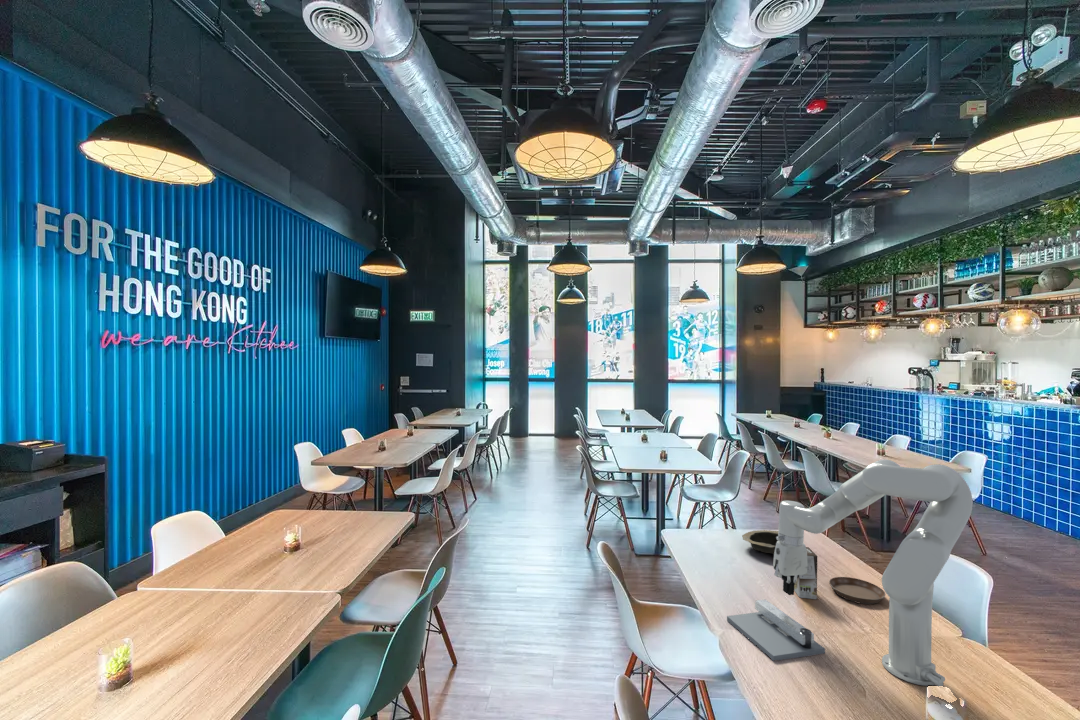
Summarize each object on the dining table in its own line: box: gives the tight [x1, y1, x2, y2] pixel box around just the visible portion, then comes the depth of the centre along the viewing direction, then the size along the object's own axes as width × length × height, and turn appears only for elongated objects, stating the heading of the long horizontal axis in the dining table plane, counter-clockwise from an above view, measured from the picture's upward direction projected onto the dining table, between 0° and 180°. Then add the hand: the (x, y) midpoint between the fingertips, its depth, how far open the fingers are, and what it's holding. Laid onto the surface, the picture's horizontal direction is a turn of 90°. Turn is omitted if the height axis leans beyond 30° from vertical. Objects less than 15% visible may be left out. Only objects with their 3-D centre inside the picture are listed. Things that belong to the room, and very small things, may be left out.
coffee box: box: [794, 546, 819, 600], centre depth 178 cm, size 9×6×16 cm
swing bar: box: [754, 599, 815, 648], centre depth 150 cm, size 22×4×4 cm, turn 13°
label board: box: [726, 611, 826, 662], centre depth 149 cm, size 22×18×2 cm
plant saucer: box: [828, 576, 886, 605], centre depth 177 cm, size 18×18×3 cm
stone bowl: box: [741, 529, 778, 555], centre depth 216 cm, size 25×25×9 cm
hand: (788, 592), depth 157 cm, fingers closed
